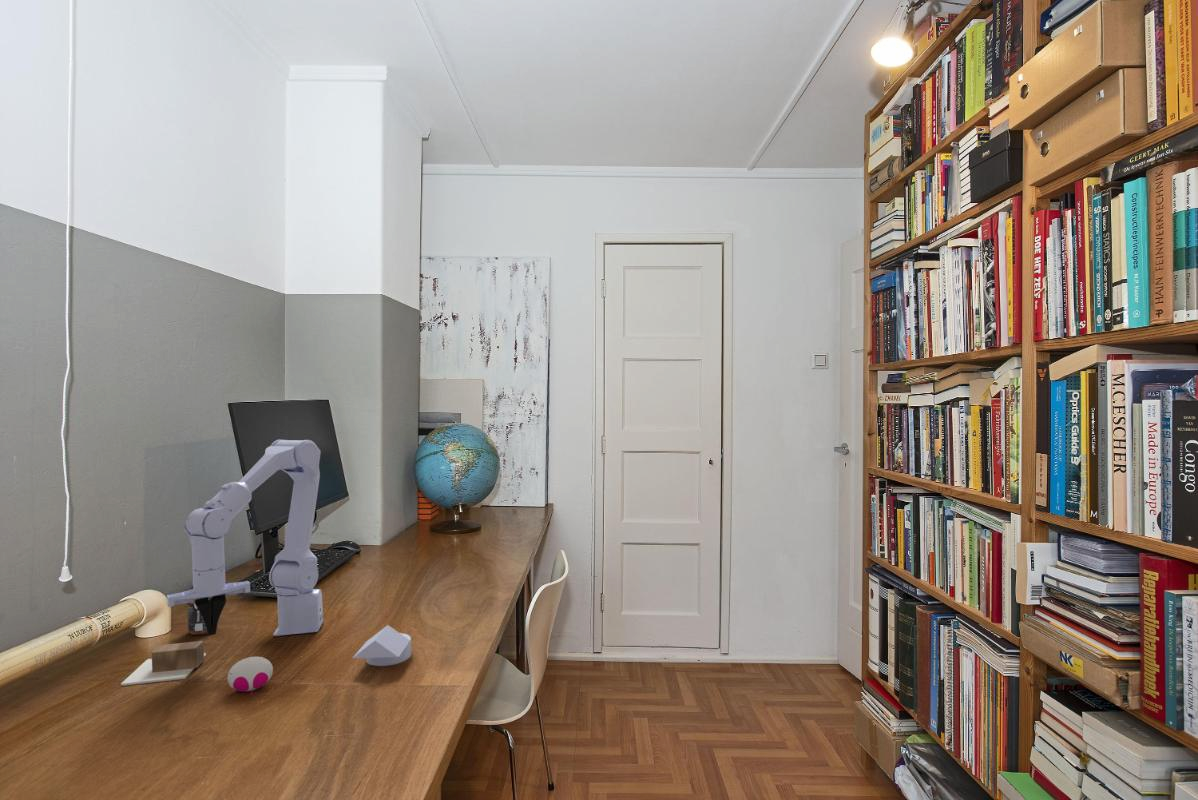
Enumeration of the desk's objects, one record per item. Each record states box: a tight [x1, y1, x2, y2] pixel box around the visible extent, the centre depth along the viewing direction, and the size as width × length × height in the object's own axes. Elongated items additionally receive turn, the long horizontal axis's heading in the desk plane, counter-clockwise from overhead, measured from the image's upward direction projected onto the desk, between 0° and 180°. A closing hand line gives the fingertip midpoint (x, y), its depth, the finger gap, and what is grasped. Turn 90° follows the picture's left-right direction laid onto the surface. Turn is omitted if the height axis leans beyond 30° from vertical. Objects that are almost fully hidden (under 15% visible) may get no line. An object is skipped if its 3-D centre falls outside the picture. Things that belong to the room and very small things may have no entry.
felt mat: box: [120, 652, 207, 687], centre depth 135 cm, size 11×12×1 cm
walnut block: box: [151, 640, 205, 673], centre depth 136 cm, size 4×4×8 cm
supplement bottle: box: [187, 583, 210, 636], centre depth 157 cm, size 6×6×11 cm
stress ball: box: [226, 656, 274, 696], centre depth 125 cm, size 8×8×7 cm
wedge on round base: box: [352, 624, 412, 667], centre depth 137 cm, size 9×7×13 cm
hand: (211, 633), depth 137 cm, fingers closed
